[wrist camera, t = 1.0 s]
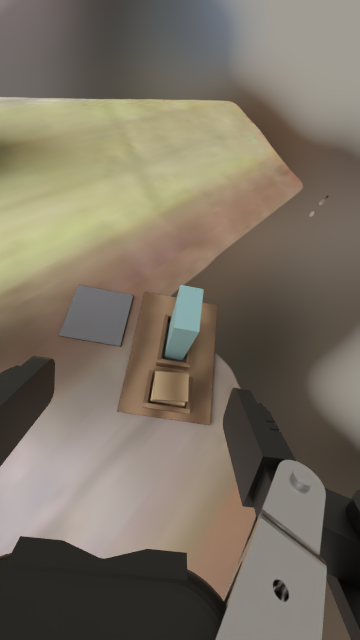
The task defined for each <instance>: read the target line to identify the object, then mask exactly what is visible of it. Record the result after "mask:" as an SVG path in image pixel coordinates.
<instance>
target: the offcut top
mask: <svg viewBox="0 0 360 640" xmlns="http://www.w3.org/2000/svg"><path fill="white" fill-rule="evenodd" d="M188 387H189V374H187V373H174V372H161V371H156V372H155V377H154V389H153V400H152V401H162V402H178V403H186V402H188Z"/></svg>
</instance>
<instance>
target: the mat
mask: <svg viewBox="0 0 360 640" xmlns="http://www.w3.org/2000/svg"><path fill="white" fill-rule="evenodd" d="M132 299H133V295H129V294H124V293H119V292H113V291H108V290H103V289H97V288H92V287H87V286H82V285H78V287H77V290H76V292H75V295H74V297H73V300H72V303H71V305H70V308H69V310H68V313H67V315H66V318H65V321H64V323H63V326H62V328H61V331H60V333H59V336H62V337H67V338H73V339H79V340H85V341H91V342H97V343H103V344H108V345H114V346H121V342H122V338H123V334H124V330H125V326H126V323H127V319H128V315H129V311H130V307H131V303H132Z"/></svg>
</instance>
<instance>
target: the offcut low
mask: <svg viewBox="0 0 360 640" xmlns="http://www.w3.org/2000/svg"><path fill="white" fill-rule="evenodd" d="M153 389H154V382H153V388H152V394H151V399H150V402H156V403H163V404H169V405H176V406H184V405H185V403H178V402H162V401H152V400H153Z"/></svg>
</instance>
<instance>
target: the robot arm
mask: <svg viewBox="0 0 360 640" xmlns="http://www.w3.org/2000/svg"><path fill="white" fill-rule="evenodd" d="M54 377H55V362H54V360H53V359H50V358H44V357H38V356H33V357H32V358H30V359H29V360H28V361H27V362H25V363H24V364H23V365H22V366H15V367H13V368H10V369H8V370H5V371H3V372H2V373H1V374H0V466H1V465H2V464H3V462H4V461H5V460H6V458H7V457H8V456H9V455H10V453H11V452H12V451H13V449H14V448H15V447H16V446H17V444H18V443H19V442H20V440H21V439H22V438H23V437H24V435H25V434H26V433H27V431H28V430H29V429H30V428H31V426H32V425H33V424H34V422H35V421H36V420H37V419H38V417H39V416H40V415H41V413H42V412H43V411H44V410H45V408H46V407H47V406H48V404H49V403H50V401H51V399H52V397H53V393H54ZM223 429H224V433H225V437H226V441H227V445H228V449H229V453H230V457H231V461H232V465H233V469H234V473H235V477H236V481H237V485H238V489H239V493H240V497H241V501H242V505H243V506H245V507H254V509H255V512H256V517H255V520H254V522H253V525H252V527H251V530H250V532H249V535H248V538H247V540H246V543H245V545H244V548H243V550H242V553H241V556H240V558H239V561H238V563H237V566H236V568H235V571H234V574H233V576H232V579H231V581H230V583H229V586H228V588H227V591H226V593H225V595H224V598H223V600H222V598H221V597H220V596H219V594H218V593H217V592H216V591H215V590H214V589H213V588H212V587H211V586H210V585H209V584H208V583H207V582H206V581H205V580H204V579H202V578H201V577H200V576H198V575H197V574H195V573H194V572H192V571H190V570H188V569H187V553H182V552H172V551H162V550H152V549H145V550H141V551H137V552H132V553H128V554H124V555H119V556H115V557H111V558H106V559H102V558H98V557H96V556H94V555H92V554H90V553H88V552H86V551H84V550H82V549H79V548H77V547H75V546H73V545H71V544H69V543H67V542H65V541H62V540H52V539H42V538H32V537H22V536H20V538H19V540H18V542H17V544H16V546H15V548H14V549H13V551H12V553H10V554H6V555H3V556H0V640H322V627H323V614H324V600H325V588H326V579H327V581H328V583H329V586H330V589H331V591H332V594H333V596H334V599H335V601H336V604H337V606H338V609H339V611H340V613H341V616H342V618H343V621H344V623H345V626H346V628H347V631H348V633H349V636H350V638H351V640H360V490H357V491H356V492H355V493H354V495H353V496H352V498H351V499H349V498H347V497H344V496H342V495H340V494H337V493H335V492H333V491H330V490H328V489H326V488H324V486H323V484H322V482H321V481H320V479H319V478H318V477H317V476H316V475H315V474H314V473H313V472H312V471H311V470H310V469H309V468H307V467H306V466H304V465H303V464H301V463H299V462H297V461H296V460H295V458H294V456H293V454H292V452H291V450H290V449H289V447H288V445H287V443H286V441H285V439H284V438H283V436H282V434H281V432H279V428H278V426H277V425H276V424H275V421H274V419H273V417H272V416H271V414H270V412H269V411H268V410H267V409H266V408H265V407H264V406H263V405H262V404H261V403H257V402H256V400H255V398H254V396H253V394H252V392H251V391H250V390H244V389H238V388H233V389H232V391H231V394H230V397H229V400H228V404H227V407H226V410H225V413H224V418H223Z"/></svg>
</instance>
